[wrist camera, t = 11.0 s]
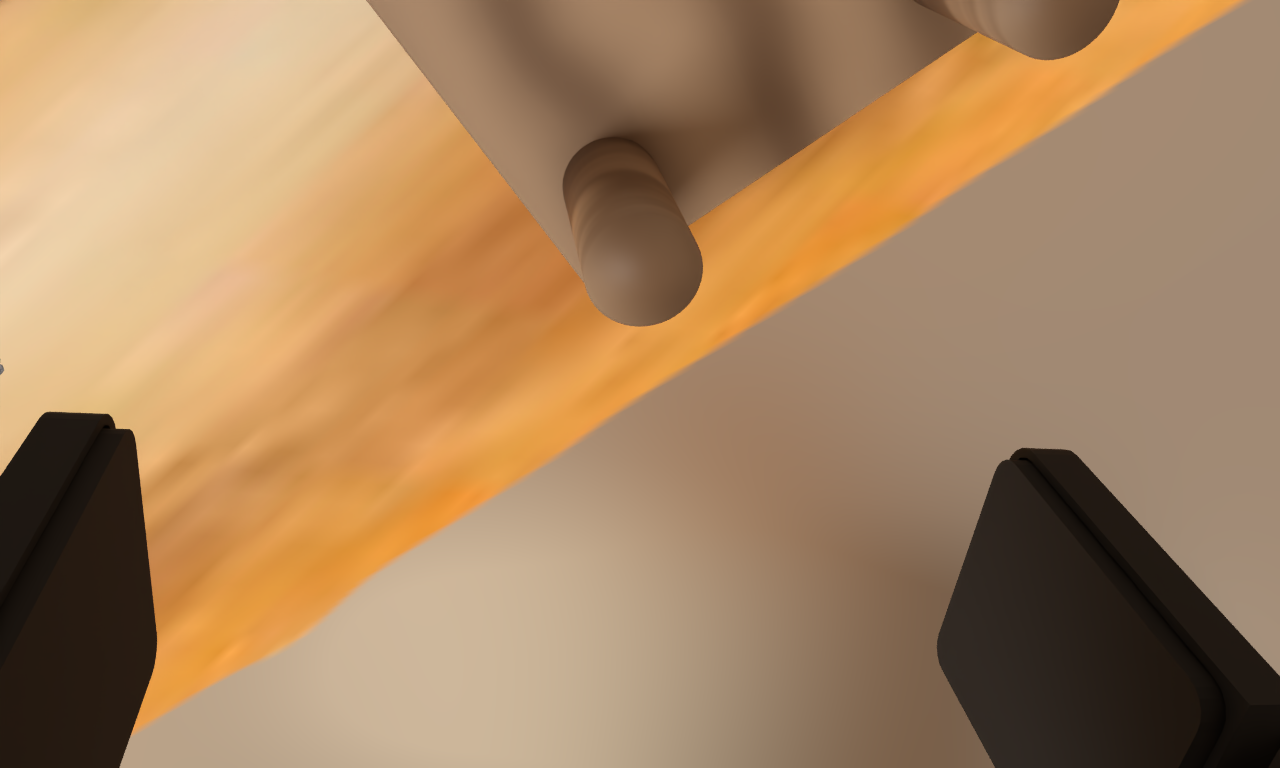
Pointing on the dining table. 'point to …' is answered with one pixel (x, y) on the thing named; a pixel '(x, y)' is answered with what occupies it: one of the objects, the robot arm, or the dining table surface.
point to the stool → (680, 104)
